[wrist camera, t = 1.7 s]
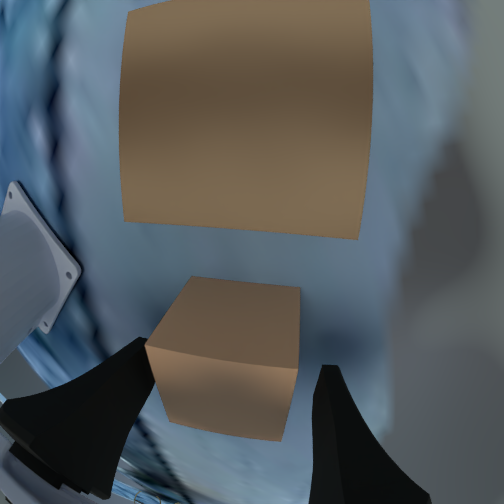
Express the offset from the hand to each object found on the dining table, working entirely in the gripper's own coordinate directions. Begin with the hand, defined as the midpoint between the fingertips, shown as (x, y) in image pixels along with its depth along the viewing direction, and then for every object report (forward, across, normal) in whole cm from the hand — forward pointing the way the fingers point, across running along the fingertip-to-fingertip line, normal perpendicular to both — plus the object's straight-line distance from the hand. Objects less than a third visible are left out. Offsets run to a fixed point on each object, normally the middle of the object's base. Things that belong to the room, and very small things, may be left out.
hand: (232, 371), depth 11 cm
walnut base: (+3, 0, -10) cm, 11 cm away
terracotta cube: (+3, 0, 0) cm, 3 cm away
